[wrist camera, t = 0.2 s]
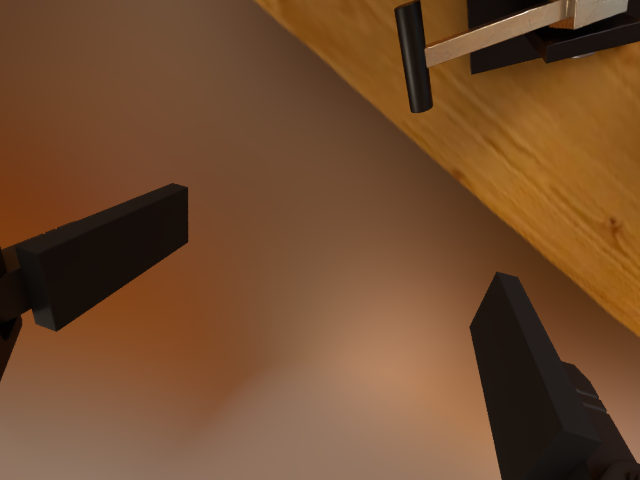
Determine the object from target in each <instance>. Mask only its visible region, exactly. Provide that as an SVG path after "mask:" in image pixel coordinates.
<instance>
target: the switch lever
mask: <svg viewBox="0 0 640 480" xmlns="http://www.w3.org/2000/svg"><path fill="white" fill-rule="evenodd" d="M627 6H628V0H548V1H545V2H542V3H539V4H537V5H534V6H531V7H528V8H526V9H523V10H520V11H517V12H515V13H512V14H509V15H506V16H504V17H501V18H498V19H495V20H493V21H490V22H487V23H485V24H482V25H479V26H476V27H474V28H471V29H468V30H465V31H463V32H460V33H457V34H454V35H452V36H449V37H446V38H443V39H441V40H438V41H435V42H432V43H430V44H427V45H426V43H425V35H424V27H423V19H422V11H421V3H420V0H414V1H411V2H408V3H405V4H402V5H400V6H398V7H396V8H395V9H394V12H395V18H396V24H397V30H398V36H399V42H400V48H401V55H402V61H403V67H404V73H405V79H406V85H407V91H408V98H409V104H410V110H411V112H412V113H421V112H425V111H427V110H429V109H431V108H432V107H433V100H432V92H431V84H430V76H429V67H432V66H435V65H437V64H440V63H443V62H446V61H449V60H451V59H454V58H457V57H460V56H463V55H466V54H468V53H471V52H474V51H477V50H480V49H482V48H485V47H488V46H491V45H494V44H497V43H499V42H502V41H505V40H508V39H511V38H513V37H516V36H519V35H522V34H525V33H528V32H530V31H533V30H536V29H539V28H542V27H544V26H547V25H549V27H550V28H560V29H571V30H575V29H578V28H581V27H584V26H587V25H589V24H592V23H595V22H598V21H601V20H604V19H607V18H609V17H612V16H615V15H618V14H621V13H624V12H626V11H627Z"/></svg>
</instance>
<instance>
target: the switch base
mask: <svg viewBox="0 0 640 480" xmlns="http://www.w3.org/2000/svg"><path fill="white" fill-rule="evenodd" d="M545 1H548V0H467V15H468V29H471V28H474V27H476V26H479V25H482V24H485V23H487V22H490V21H493V20H495V19H498V18H501V17H504V16H506V15H509V14H512V13H515V12H517V11H520V10H523V9H526V8H528V7H531V6H534V5H537V4H539V3H542V2H545ZM638 41H640V0H628V6H627V11H626V12H624V13H621V14H618V15H615V16H612V17H609V18H607V19H604V20H601V21H598V22H595V23H592V24H589V25H587V26H584V27H581V28H578V29H575V30H571V29H560V28H550V27H549V25H547V26H544V27H542V28H539V29H536V30H533V31H530V32H528V33H525V34H522V35H519V36H516V37H513V38H511V39H508V40H505V41H502V42H499V43H497V44H494V45H491V46H488V47H485V48H482V49H480V50H477V51H474V52H471V53H470V67H471V75H473V74H477V73H481V72H485V71H489V70H493V69H497V68H501V67H505V66H509V65H513V64H517V63H521V62H525V61H529V60H533V59H537V58H542V59H543V60H544V61H545V63H550V62H555V61H559V60H563V59H567V58H570V59H578V58H584V57H588V56H590V55H593V54H594V53H595V52H596V51H600V50H605V49H609V48H613V47H617V46H621V45H626V44H630V43H634V42H638Z"/></svg>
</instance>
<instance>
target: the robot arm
mask: <svg viewBox="0 0 640 480" xmlns="http://www.w3.org/2000/svg"><path fill="white" fill-rule="evenodd" d="M186 243H188V187H185V186H181V185H178V184H174V183H172V184H169V185H166V186H164V187H161V188H159V189H156V190H154V191H151V192H149V193H146V194H144V195H142V196H139V197H136V198H134V199H131V200H129V201H126V202H124V203H121V204H119V205H116V206H114V207H111V208H109V209H106V210H104V211H101V212H99V213H96V214H94V215H91V216H88V217H86V218H83V219H81V220H78V221H74V222H70V223H68V224H66V225H63V226H60V227H58V228H57V229H53V230H50V231H48V232H46V233H45V234H40V235H38V236H35V237H33V238H30V239H27V240H25V241H22V242H20V243H17V244H15V245H13V246H10V247H7V248H4V249H2V250H1V247H0V381H1V378H2V376H3V373H4V371H5V368H6V366H7V363H8V360H9V358H10V355H11V353H12V350H13V347H14V345H15V342H16V340H17V337H18V335H19V332H20V329H21V327H22V318H21V314H23V313H25V312H26V311H28V310H30V309H32V312H33V315H34V319H35V323H36V324H37V325H40V326H43V327H46V328H48V329H51V330H54V331H56V332H57V331H58V330H60V329H61V328H63V327H64V326H66V325H67V324H69V323H70V322H72V321H73V320H75V319H76V318H77V317H79V316H80V315H82V314H83V313H85V312H86V311H88V310H89V309H91V308H92V307H94V306H95V305H96V304H98V303H99V302H101V301H102V300H104V299H105V298H107V297H108V296H110V295H111V294H113V293H114V292H116V291H117V290H119V289H120V288H122V287H123V286H124V285H126V284H127V283H129V282H130V281H132V280H133V279H135V278H136V277H138V276H139V275H141V274H142V273H144V272H145V271H146V270H148V269H149V268H151V267H152V266H154V265H155V264H157V263H158V262H160V261H161V260H163V259H164V258H165V257H167V256H169V255H170V254H171V253H173V252H174V251H176V250H177V249H179V248H180V247H182V246H183V245H185V244H186ZM470 331H471V336H472V341H473V346H474V350H475V355H476V360H477V365H478V369H479V374H480V379H481V384H482V388H483V392H484V398H485V402H486V407H487V412H488V417H489V421H490V426H491V431H492V435H493V440H494V444H495V450H496V455H497V459H498V464H499V468H500V473H501V478H502V480H640V464H638V463H637V462H636V460H635V458H634V457H633V455H632V453H631V452H630V450H629V448H628V446H627V445H626V443H625V441H624V440H623V438H622V436H621V434H620V433H619V431H618V429H617V427H616V426H615V424H614V422H613V421H612V419H611V417H610V415H609V414H607V413H606V411H607V410H606V408H605V407H604V405H603V403H602V401H601V400H599V396H598V395H597V393H596V391H595V389H594V388H593V386H592V384H591V382H590V381H589V380H588V379H587V378H586V377H585V376H584V375H583V374H582V373H581V372H580V370H579V369H578V368H577V367H576V366H575V365H573V364H569V363H566V362H563V361H561V360H560V358H559V356H558V354H557V352H556V350H555V348H554V346H553V344H552V343H551V341H550V339H549V337H548V335H547V333H546V331H545V329H544V327H543V325H542V323H541V321H540V319H539V317H538V315H537V313H536V312H535V310H534V308H533V306H532V304H531V302H530V300H529V298H528V296H527V294H526V292H525V290H524V288H523V286H522V284H521V283H520V281H519V279H518V277H514V276H511V275H507V274H504V273H500V272H496V274H495V276H494V278H493V280H492V282H491V284H490V286H489V288H488V290H487V293H486V294H485V296H484V299H483V301H482V303H481V305H480V307H479V309H478V311H477V313H476V315H475V317H474V319H473V321H472V323H471V325H470Z"/></svg>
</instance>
